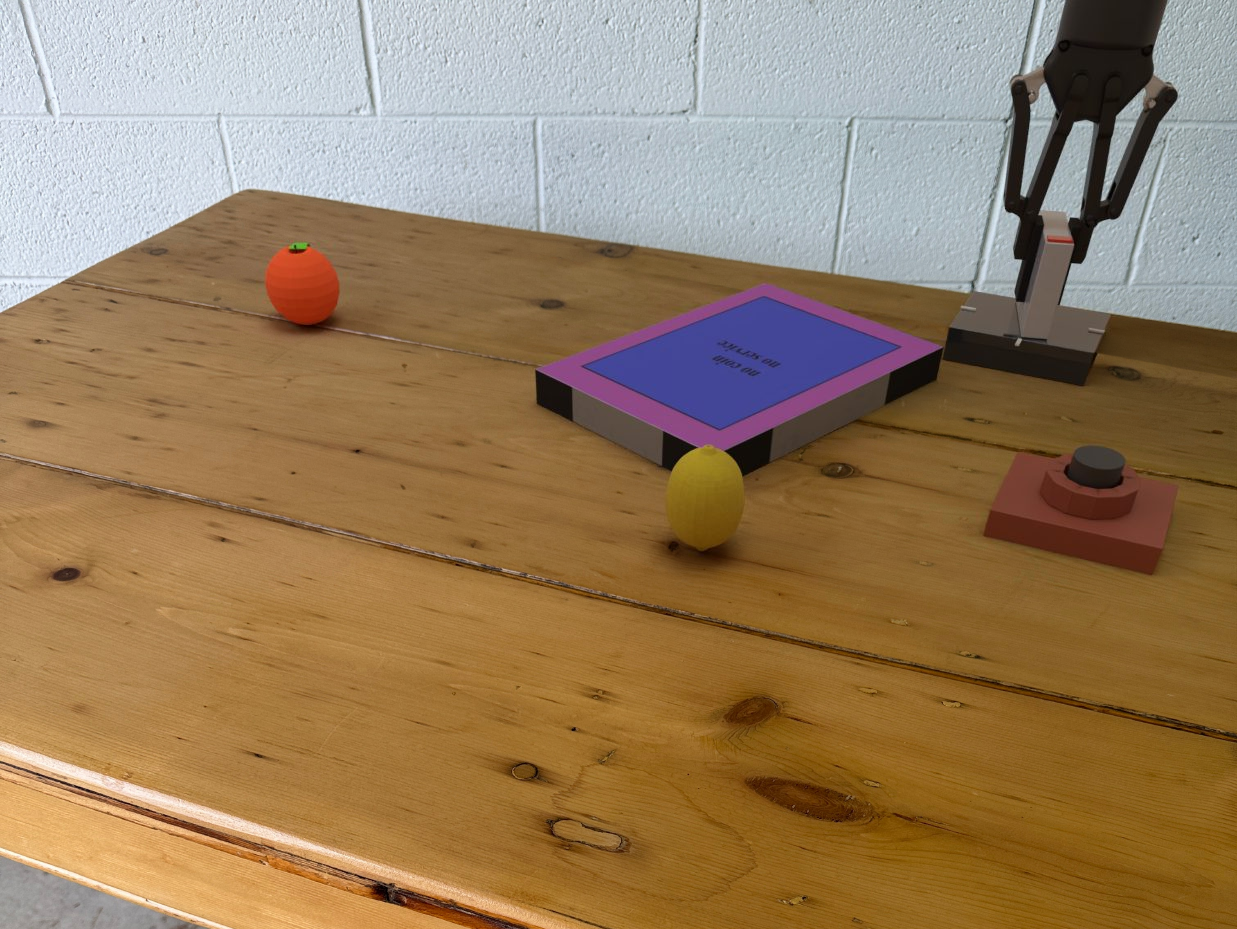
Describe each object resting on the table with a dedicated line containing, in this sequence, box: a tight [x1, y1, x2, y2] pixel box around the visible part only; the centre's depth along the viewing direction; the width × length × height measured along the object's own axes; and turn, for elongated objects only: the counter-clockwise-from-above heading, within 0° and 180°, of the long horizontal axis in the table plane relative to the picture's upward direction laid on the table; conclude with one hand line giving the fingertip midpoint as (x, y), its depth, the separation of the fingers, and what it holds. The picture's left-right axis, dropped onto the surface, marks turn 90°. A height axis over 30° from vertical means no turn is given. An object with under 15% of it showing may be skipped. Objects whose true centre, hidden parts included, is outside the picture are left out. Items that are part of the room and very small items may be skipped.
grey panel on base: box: [1016, 209, 1074, 339], centre depth 100 cm, size 9×2×8 cm, turn 169°
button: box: [1067, 445, 1127, 489], centre depth 80 cm, size 4×4×2 cm
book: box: [534, 282, 945, 477], centre depth 98 cm, size 21×3×30 cm
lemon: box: [664, 445, 746, 552], centre depth 78 cm, size 6×6×8 cm
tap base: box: [941, 290, 1112, 387], centre depth 104 cm, size 13×13×3 cm
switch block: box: [982, 451, 1180, 576], centre depth 82 cm, size 12×10×4 cm
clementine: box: [264, 242, 341, 326], centre depth 107 cm, size 8×7×7 cm
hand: (1036, 297), depth 102 cm, fingers closed on grey panel on base, 2 cm apart
